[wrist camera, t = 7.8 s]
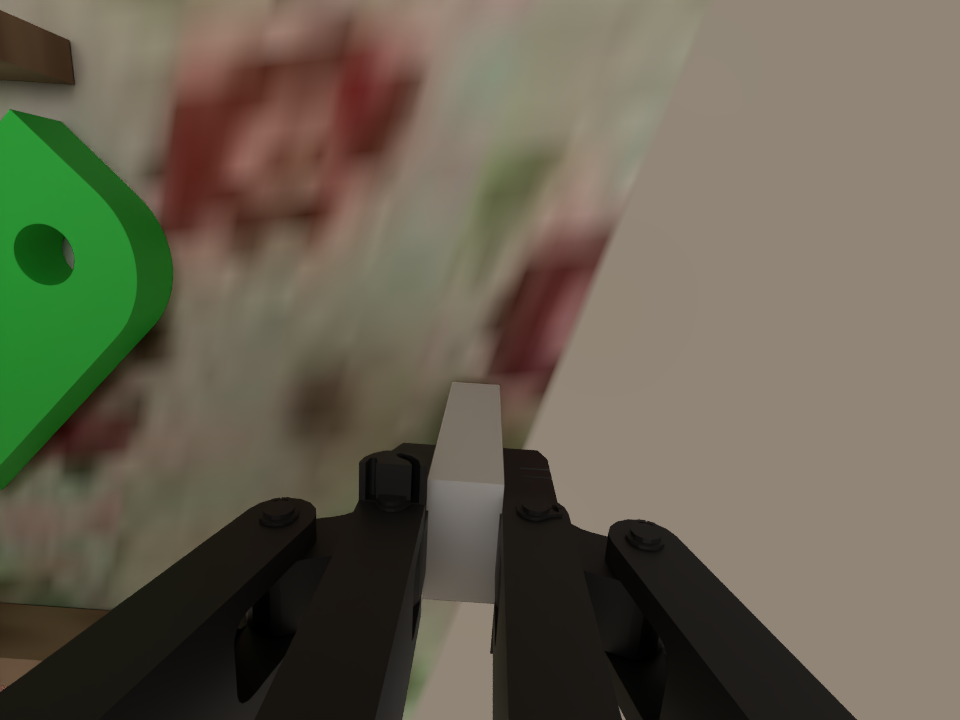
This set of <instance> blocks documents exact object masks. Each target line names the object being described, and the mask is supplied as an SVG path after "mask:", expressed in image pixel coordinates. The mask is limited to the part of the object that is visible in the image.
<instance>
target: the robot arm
mask: <svg viewBox="0 0 960 720" xmlns="http://www.w3.org/2000/svg"><path fill="white" fill-rule="evenodd" d="M551 479H552V477H551V473H550V470H549V465H548V460H547V459H546V458H545V457H544V456H543V455H542V454H541V453H539V452H538V451H535V450H522V449H507V448H503V445H502V424H501V403H500V385H493V384H478V383H464V382H452V385H451V389H450V393H449V397H448V401H447V405H446V409H445V413H444V416H443V420H442V424H441V428H440V432H439V436H438V440H437V444H436V445H427V444H412V443H403V444H401V445H400V446H398V447H397V448H395V449H394V450H392V451H382V452H376V453H373V454H370V455H368V456H366V457H364V458H363V459H362V460H361V461H360V462H359V501H358V503H357V506H356V508H355V510H354V512H352V513H349V514H346V515H341V516H336V517H328V518H319V519H316V508H315V507H314V506H313V505H312V504H311V503H310V502H307V501H304V500H302V499H296V498H289V497H282V498H275V499H271V500H269V501H265V502H262V503H259V504H257V505H255V506H254V507H252V508H250V509H248V510H247V511H246V512H244V513H243V514H242V515H240V516H239V517H237V518H236V519H235V520H233V521H232V522H231V523H229V524H228V525H227V526H225V527H224V528H223V529H221V530H220V531H218V532H217V533H216V534H214V535H213V536H212V537H210V538H209V539H208V540H206V541H205V542H203V543H202V544H201V545H199V546H198V547H197V548H195V549H194V550H193V551H191V552H190V553H189V554H187V555H186V556H184V557H183V558H182V559H180V560H179V561H178V562H176V563H175V564H174V565H172V566H171V567H170V568H168V569H167V570H165V571H164V572H163V573H161V574H160V575H159V576H157V577H156V578H155V579H153V580H152V581H151V582H149V583H148V584H146V585H145V586H144V587H142V588H141V589H140V590H138V591H137V592H136V593H134V594H133V595H132V596H130V597H129V598H127V599H126V600H125V601H123V602H122V603H121V604H119V605H118V606H117V607H115V608H114V609H113V610H111V611H110V612H108V613H107V614H106V615H104V616H103V617H102V618H100V619H99V620H98V621H96V622H95V623H93V624H92V625H91V626H89V627H88V628H87V629H85V630H84V631H83V632H81V633H80V634H79V635H77V636H76V637H74V638H73V639H72V640H70V641H69V642H68V643H66V644H65V645H64V646H62V647H61V648H60V649H58V650H57V651H55V652H54V653H53V654H51V655H50V656H49V657H47V658H46V659H45V660H43V661H42V662H41V663H39V664H38V665H36V666H35V667H34V668H32V669H31V670H30V671H28V672H27V673H26V674H24V675H23V676H22V677H20V678H19V679H17V680H16V681H15V682H13V683H12V684H11V685H9V686H8V687H7V688H5V689H4V690H2V691H1V692H0V720H402V717H403V712H404V706H405V701H406V695H407V689H408V684H409V678H410V673H411V667H412V661H413V656H414V650H415V645H416V639H417V633H418V628H419V622H420V617H421V595H422V589H423V599H432V600H447V601H461V602H475V603H490V604H494V615H493V628H492V639H491V651H490V653H491V654H493V720H622V718H621V714H620V711H619V707H620V709H621V711H622V713H623V715H624V717H625V719H626V720H857V719H855V717H854V716H852V714H851V713H850V712H849V711H848V710H847V709H846V708H845V707H844V706H843V705H842V704H841V703H840V702H839V701H838V700H837V699H836V698H835V697H834V696H833V695H832V694H831V693H830V692H829V691H828V690H827V689H826V688H825V687H824V686H823V685H822V684H821V683H820V682H819V681H818V680H817V679H816V678H815V677H814V676H813V675H812V674H811V673H810V672H809V671H808V670H807V669H806V668H805V666H803V665H802V663H801V662H800V661H799V660H798V659H797V658H796V657H795V656H794V655H793V654H792V653H791V652H790V651H789V650H788V649H787V648H786V647H785V646H784V645H783V644H782V643H781V642H780V641H779V640H778V639H777V638H776V637H775V636H774V635H773V634H772V633H771V632H770V631H769V630H768V629H767V628H766V627H765V626H764V625H763V624H762V623H761V622H760V621H759V620H758V619H757V618H756V617H755V616H754V615H753V614H752V613H751V612H750V611H749V610H748V609H747V608H746V607H745V606H744V604H742V602H741V601H739V599H738V598H737V597H736V596H734V594H733V593H732V592H730V590H729V589H728V588H727V587H726V586H725V585H724V584H723V583H722V582H721V581H720V580H719V579H718V578H717V577H716V576H715V575H714V574H713V573H712V572H711V571H710V570H709V569H708V568H707V567H706V566H705V565H704V564H703V563H702V562H701V561H700V560H699V559H698V558H697V557H696V556H695V555H694V554H693V553H692V552H691V551H690V550H689V549H688V548H687V547H686V546H685V545H684V544H683V543H682V542H681V541H680V540H679V539H678V537H677V536H675V535H674V534H673V533H671V532H670V531H669V530H667V529H665V528H663V527H661V526H659V525H656V524H655V523H653V522H649V521H647V522H646V521H645V520H629V519H628V520H623V521H618V522H616V523H615V524H613V525H612V526H610V529H609V533H608V537H606V536H603V535H599V534H595V533H591V532H588V531H585V530H582V529H580V528H578V527H576V526H574V525H572V524H571V522H570V518H569V514H568V512H567V511H566V509H565V508H564V507H563V506H562V505H560V504H559V503H557V499H556V495H555V490H554V486H553V482H552V480H551ZM618 706H619V707H618Z"/></svg>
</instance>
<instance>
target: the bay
mask: <svg viewBox="0 0 960 720" xmlns="http://www.w3.org/2000/svg"><path fill="white" fill-rule="evenodd" d="M0 80H15V81H31V82H46V83H61V84H74V79H73V70H72V62H71V53H70V45H69V40H67V39H65V38H63V37H60V36H58V35H56V34H54V33H51V32H49V31H47V30H44V29H42V28H40V27H38V26H35V25H33V24H31V23H28V22H26V21H24V20H22V19H19V18H17V17H15V16H12V15H10V14H8V13H6V12H3V11H1V10H0ZM108 612H110V611H104V610H90V609H76V608H62V607H48V606H34V605H20V604H6V603H0V685H4V686H9V685H11V684H12V683H13V682H15V681H16V680H17V679H19V678H20V677H22V676H23V675H24V674H26V673H27V672H28V671H30V670H31V669H32V668H34V667H35V666H36V665H38V664H39V663H41V662H42V661H43V660H45V659H46V658H47V657H49V656H50V655H51V654H53V653H54V652H55V651H57V650H58V649H60V648H61V647H62V646H64V645H65V644H66V643H68V642H69V641H70V640H72V639H73V638H74V637H76V636H77V635H79V634H80V633H81V632H83V631H84V630H85V629H87V628H88V627H89V626H91V625H92V624H93V623H95V622H96V621H98V620H99V619H100V618H102V617H103V616H104V615H106V614H107V613H108Z"/></svg>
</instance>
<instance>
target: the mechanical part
mask: <svg viewBox="0 0 960 720" xmlns="http://www.w3.org/2000/svg"><path fill="white" fill-rule="evenodd" d="M64 236H65V237H66V239H67V240H68V241H69V243H70V245H71V247H72V249H73V253H74V258H75V263H74V269H73V270H72V269H71V268H70V267H69V265H68V264H67V262H66V260H65V258H64V256H63V251H62V242H63V238H64ZM172 281H173V267H172V258H171V254H170V249H169V246H168V243H167V240H166V237H165V235H164V232H163V230H162V228H161V226H160V224H159V223H158V221H157V219H156V218H155V216H154V215H153V213H152V212H151V210H150V209H149V208H148V207H147V205H146V204H145V203H144V202H143V201H142V200H141V199H140V198H139V197H138V195H136V194H135V193H134V192H133V191H132V190H131V189H130V188H129V187H128V186H127V185H126V184H125V183H124V182H123V181H122V180H121V179H120V178H119V177H118V176H117V175H116V174H115V173H114V172H113V171H112V170H111V169H110V168H109V167H108V166H107V165H105V164H104V163H103V162H102V161H101V160H100V159H99V158H98V157H97V156H96V155H95V154H94V153H93V152H92V151H91V150H90V149H89V148H88V147H87V146H86V145H85V144H84V143H83V142H82V141H81V140H80V139H79V138H78V137H77V136H76V135H74V134H73V133H72V132H71V131H70V130H69V129H68V128H67V127H66V126H65V125H64V124H63V123H62V122H60V121H56V120H52V119H48V118H44V117H40V116H36V115H32V114H27V113H23V112H19V111H15V110H11V109H10V110H9V111H8V112H7V114H6V115H5V116H4V118H3V119H2V120H1V122H0V490H1V489H3V488H5V487H6V486H7V485H8V484H9V482H10V481H11V480H12V479H13V478H14V477H15V476H16V475H17V474H18V473H19V472H20V471H21V469H22V468H23V467H24V466H25V465H26V464H27V463H28V462H29V461H30V460H31V459H32V457H33V456H34V455H35V454H36V453H37V452H38V451H39V450H40V449H41V448H42V447H43V446H44V444H45V443H46V442H47V441H48V440H49V439H50V438H51V437H52V436H53V435H54V434H55V433H56V431H57V430H58V429H59V428H60V427H61V426H62V425H63V424H64V423H65V422H66V421H67V420H68V418H69V417H70V416H71V415H72V414H73V413H74V412H75V411H76V410H77V409H78V408H79V407H80V405H81V404H82V403H83V402H84V401H85V400H86V399H87V398H88V397H89V396H90V395H91V394H92V392H93V391H94V390H95V389H96V388H97V387H98V386H99V385H100V384H101V383H102V382H103V381H104V379H105V378H106V377H107V376H108V375H109V374H110V373H111V372H112V371H113V370H114V369H115V367H116V366H117V365H118V364H119V363H120V362H121V361H122V360H123V359H124V358H125V357H126V356H127V354H128V353H129V352H130V351H131V350H132V349H133V348H134V347H135V346H136V345H137V344H138V343H139V341H140V340H141V339H142V338H143V337H144V336H145V335H146V334H147V333H148V332H149V331H150V330H151V328H152V327H153V326H154V325H155V324H156V323H157V321H158V320H159V319H160V317H161V316H162V314H163V312H164V310H165V308H166V306H167V304H168V301H169V298H170V294H171V289H172Z"/></svg>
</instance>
